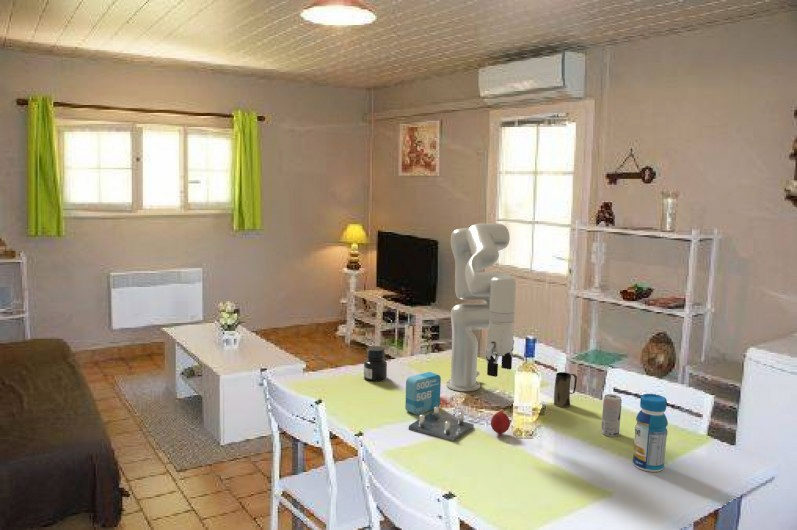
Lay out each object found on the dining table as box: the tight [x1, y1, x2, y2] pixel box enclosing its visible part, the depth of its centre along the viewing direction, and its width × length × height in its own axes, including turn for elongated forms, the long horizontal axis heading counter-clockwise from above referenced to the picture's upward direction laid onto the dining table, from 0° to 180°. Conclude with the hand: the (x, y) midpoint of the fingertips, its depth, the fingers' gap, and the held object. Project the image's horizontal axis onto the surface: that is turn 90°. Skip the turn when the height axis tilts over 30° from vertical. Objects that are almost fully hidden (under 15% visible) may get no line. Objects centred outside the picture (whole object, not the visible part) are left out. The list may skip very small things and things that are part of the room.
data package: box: [404, 371, 442, 415], centre depth 221 cm, size 12×4×12 cm, turn 130°
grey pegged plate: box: [408, 406, 475, 442], centre depth 205 cm, size 13×16×5 cm
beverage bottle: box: [632, 393, 669, 473], centre depth 181 cm, size 8×8×20 cm
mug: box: [553, 371, 578, 409], centre depth 228 cm, size 8×6×12 cm
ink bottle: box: [363, 345, 388, 382], centre depth 253 cm, size 10×9×12 cm
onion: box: [490, 409, 511, 435], centre depth 202 cm, size 6×6×8 cm
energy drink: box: [600, 393, 623, 438], centre depth 204 cm, size 5×5×12 cm
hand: (499, 372), depth 200 cm, fingers open, 9 cm apart
